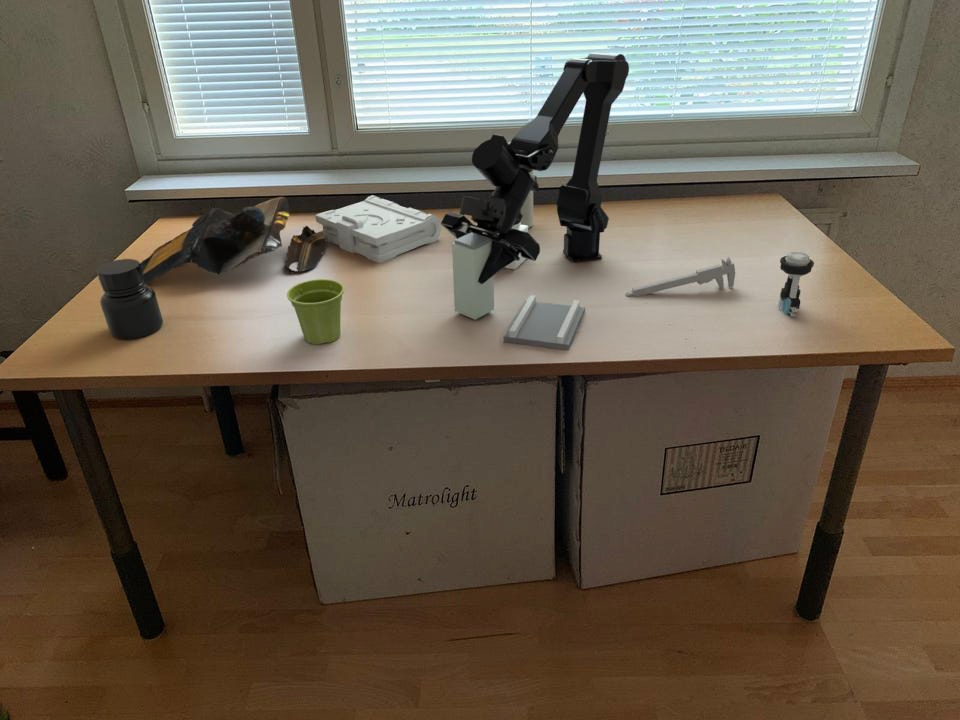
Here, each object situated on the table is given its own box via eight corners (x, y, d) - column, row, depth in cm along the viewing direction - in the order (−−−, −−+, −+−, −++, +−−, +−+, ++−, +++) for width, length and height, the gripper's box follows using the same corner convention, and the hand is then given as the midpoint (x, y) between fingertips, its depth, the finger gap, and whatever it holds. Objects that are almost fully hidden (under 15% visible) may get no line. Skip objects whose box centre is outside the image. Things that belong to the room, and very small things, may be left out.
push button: (809, 319, 122) (821, 265, 117) (776, 318, 123) (787, 264, 118) (798, 302, 128) (810, 250, 123) (768, 301, 128) (778, 249, 123)
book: (369, 214, 178) (365, 184, 174) (445, 240, 160) (442, 208, 156) (303, 236, 167) (298, 205, 163) (376, 268, 149) (372, 233, 145)
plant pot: (361, 328, 124) (355, 283, 120) (330, 354, 117) (322, 306, 113) (316, 320, 128) (309, 275, 123) (283, 344, 120) (274, 297, 116)
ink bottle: (160, 312, 133) (143, 252, 126) (171, 330, 126) (153, 268, 120) (104, 326, 128) (83, 265, 122) (112, 346, 122) (90, 282, 116)
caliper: (730, 287, 135) (735, 256, 132) (732, 289, 134) (738, 258, 131) (625, 295, 133) (627, 264, 130) (627, 298, 132) (629, 266, 129)
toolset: (119, 302, 135) (99, 188, 144) (160, 343, 153) (140, 239, 162) (326, 245, 141) (294, 139, 150) (341, 291, 159) (312, 195, 168)
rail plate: (525, 305, 130) (525, 294, 129) (584, 312, 127) (585, 301, 126) (503, 341, 119) (503, 330, 118) (568, 350, 116) (568, 338, 115)
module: (473, 301, 131) (471, 231, 124) (494, 309, 128) (493, 238, 121) (454, 311, 128) (451, 240, 120) (475, 319, 125) (473, 247, 118)
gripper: (444, 167, 124) (404, 246, 122) (530, 185, 113) (486, 272, 111) (476, 199, 133) (438, 273, 131) (558, 219, 122) (518, 300, 120)
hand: (468, 278), depth 123 cm, fingers closed on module, 5 cm apart
